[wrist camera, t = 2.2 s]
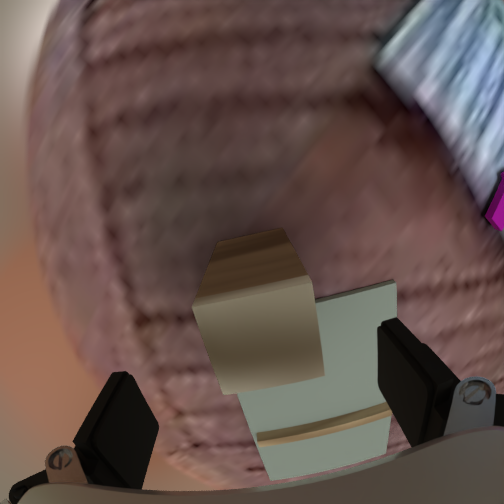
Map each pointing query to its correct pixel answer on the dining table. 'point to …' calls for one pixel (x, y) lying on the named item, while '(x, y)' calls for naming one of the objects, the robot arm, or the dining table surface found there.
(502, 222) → the toy
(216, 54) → the dining table surface
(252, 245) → the walnut block
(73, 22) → the dining table surface
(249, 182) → the dining table surface
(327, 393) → the mat
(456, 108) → the dining table surface
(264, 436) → the strip
